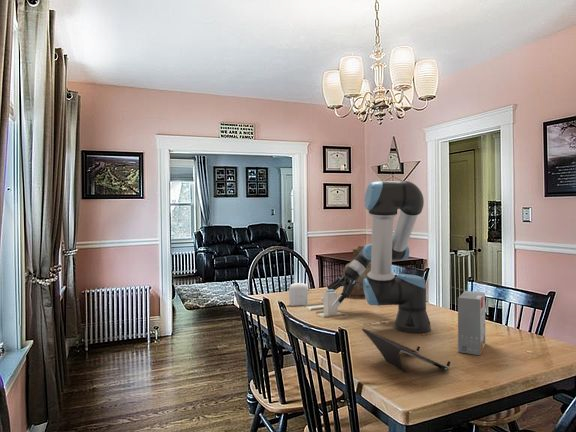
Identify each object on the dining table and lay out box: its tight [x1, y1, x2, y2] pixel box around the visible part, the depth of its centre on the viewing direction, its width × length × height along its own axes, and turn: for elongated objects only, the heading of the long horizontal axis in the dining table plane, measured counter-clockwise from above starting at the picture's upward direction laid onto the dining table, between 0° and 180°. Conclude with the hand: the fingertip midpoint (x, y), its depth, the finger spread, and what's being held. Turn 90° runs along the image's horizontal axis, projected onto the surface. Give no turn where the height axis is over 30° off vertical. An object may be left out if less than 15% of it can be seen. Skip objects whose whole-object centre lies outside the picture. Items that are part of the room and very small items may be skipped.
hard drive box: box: [457, 290, 486, 356], centre depth 151 cm, size 16×8×20 cm, turn 148°
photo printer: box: [288, 282, 309, 307], centre depth 226 cm, size 10×4×12 cm, turn 98°
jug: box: [341, 245, 371, 298], centre depth 248 cm, size 22×22×30 cm
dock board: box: [303, 302, 346, 319], centre depth 207 cm, size 26×12×2 cm, turn 20°
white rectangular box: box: [322, 289, 338, 315], centre depth 199 cm, size 5×5×12 cm
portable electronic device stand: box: [361, 328, 451, 373], centre depth 136 cm, size 23×23×9 cm
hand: (327, 304), depth 200 cm, fingers open, 13 cm apart
